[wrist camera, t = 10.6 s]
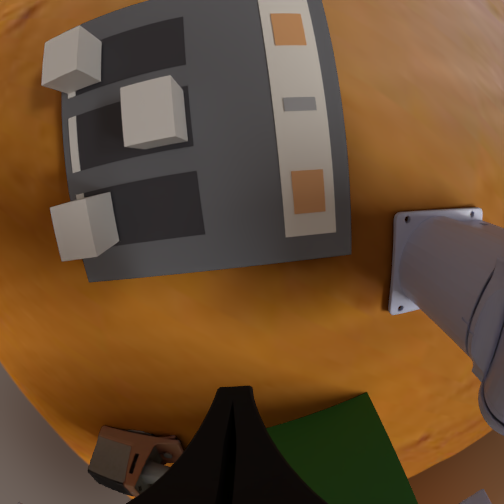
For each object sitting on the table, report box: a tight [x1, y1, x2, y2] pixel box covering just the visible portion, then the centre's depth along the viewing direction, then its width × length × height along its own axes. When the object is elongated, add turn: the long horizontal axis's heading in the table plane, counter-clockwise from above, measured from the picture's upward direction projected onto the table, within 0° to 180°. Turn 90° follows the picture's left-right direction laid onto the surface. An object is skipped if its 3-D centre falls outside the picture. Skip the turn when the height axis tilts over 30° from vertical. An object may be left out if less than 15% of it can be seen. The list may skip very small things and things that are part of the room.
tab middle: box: [120, 75, 188, 149], centre depth 12 cm, size 2×3×3 cm
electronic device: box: [88, 426, 184, 497], centre depth 21 cm, size 4×10×8 cm, turn 93°
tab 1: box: [41, 25, 102, 94], centre depth 11 cm, size 2×3×3 cm
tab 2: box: [50, 192, 119, 261], centre depth 14 cm, size 2×3×3 cm
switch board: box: [62, 0, 351, 282], centre depth 15 cm, size 17×18×2 cm
